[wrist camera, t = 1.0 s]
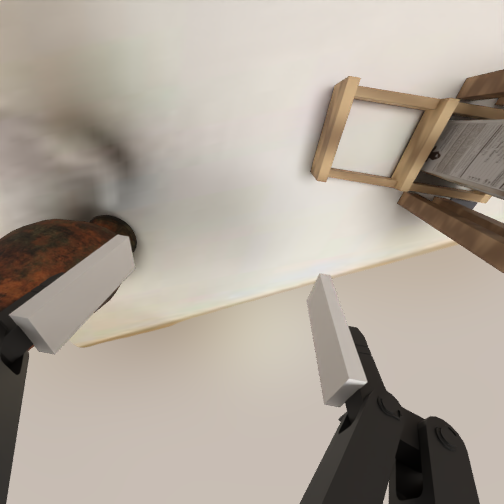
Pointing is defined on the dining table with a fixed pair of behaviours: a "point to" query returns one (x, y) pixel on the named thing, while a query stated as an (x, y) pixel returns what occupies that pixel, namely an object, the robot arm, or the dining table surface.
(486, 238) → the brown open upright frame
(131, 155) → the dining table surface
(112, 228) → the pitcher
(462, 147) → the coffee box
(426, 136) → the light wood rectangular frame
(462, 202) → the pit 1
